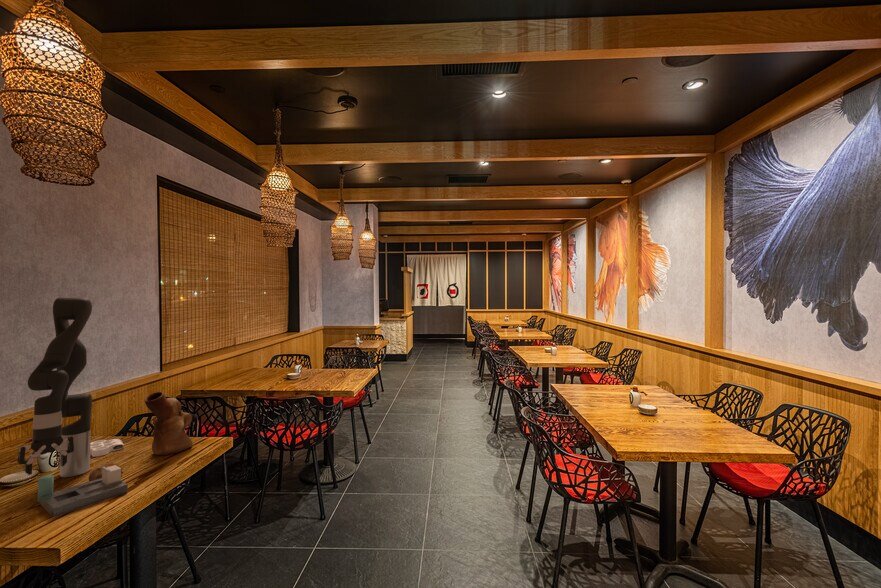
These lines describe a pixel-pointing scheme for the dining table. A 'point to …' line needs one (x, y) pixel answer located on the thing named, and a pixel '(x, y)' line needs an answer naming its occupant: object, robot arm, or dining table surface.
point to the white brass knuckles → (105, 447)
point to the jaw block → (111, 474)
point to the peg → (45, 485)
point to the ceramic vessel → (168, 424)
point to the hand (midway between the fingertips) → (46, 469)
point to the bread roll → (100, 471)
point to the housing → (81, 496)
